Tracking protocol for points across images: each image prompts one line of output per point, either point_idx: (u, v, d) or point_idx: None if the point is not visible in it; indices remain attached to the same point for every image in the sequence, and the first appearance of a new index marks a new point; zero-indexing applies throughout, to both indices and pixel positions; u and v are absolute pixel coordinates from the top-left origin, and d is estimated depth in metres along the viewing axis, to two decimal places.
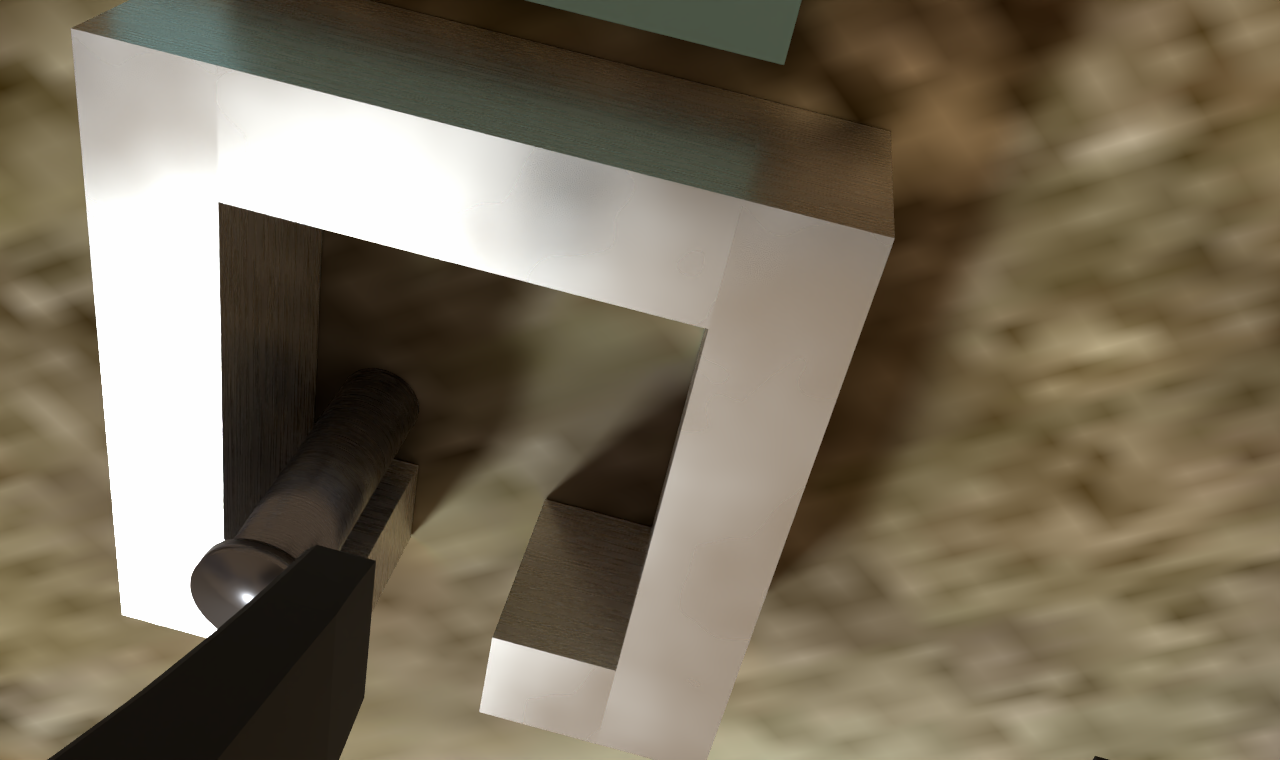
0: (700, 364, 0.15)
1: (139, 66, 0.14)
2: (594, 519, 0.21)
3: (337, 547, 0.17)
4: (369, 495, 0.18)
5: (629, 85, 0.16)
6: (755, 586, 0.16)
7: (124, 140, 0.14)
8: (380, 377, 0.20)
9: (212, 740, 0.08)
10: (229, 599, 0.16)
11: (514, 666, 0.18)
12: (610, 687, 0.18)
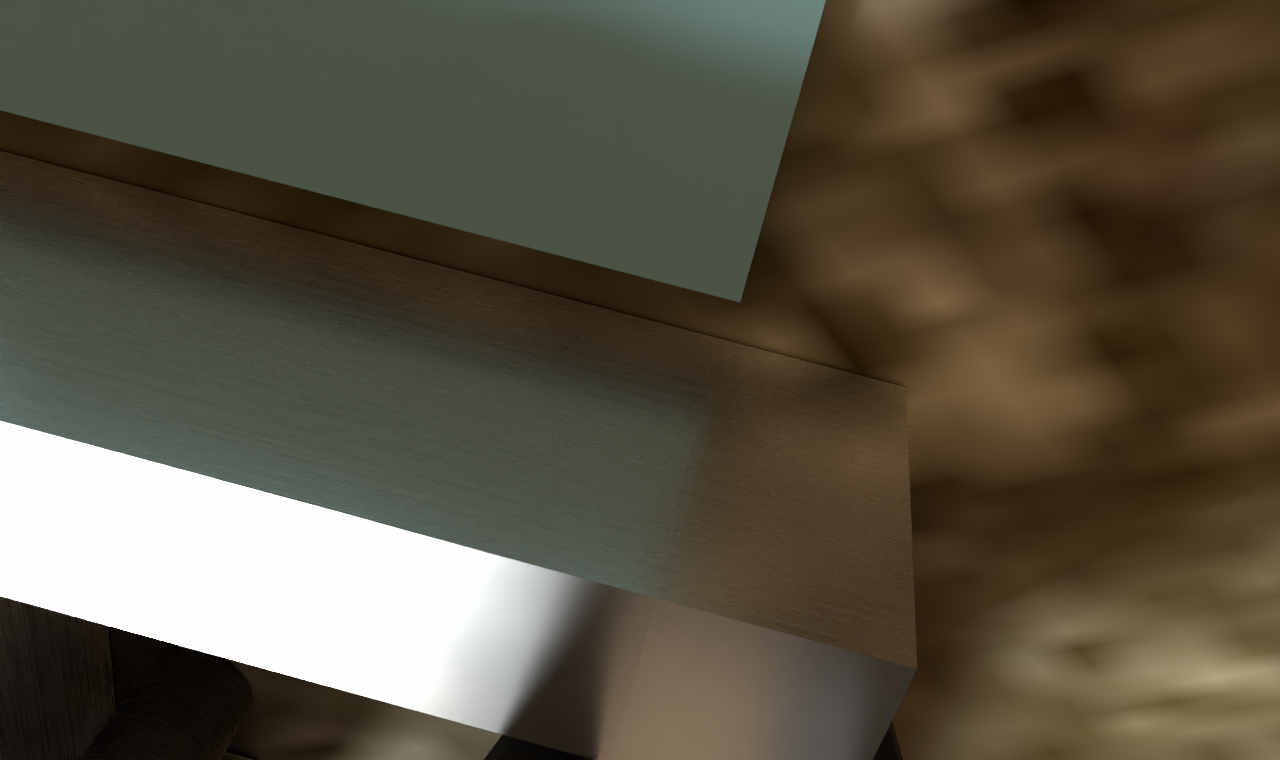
0: None
1: None
2: None
3: None
4: None
5: (501, 328, 0.10)
6: None
7: None
8: (192, 663, 0.14)
9: None
10: None
11: None
12: None
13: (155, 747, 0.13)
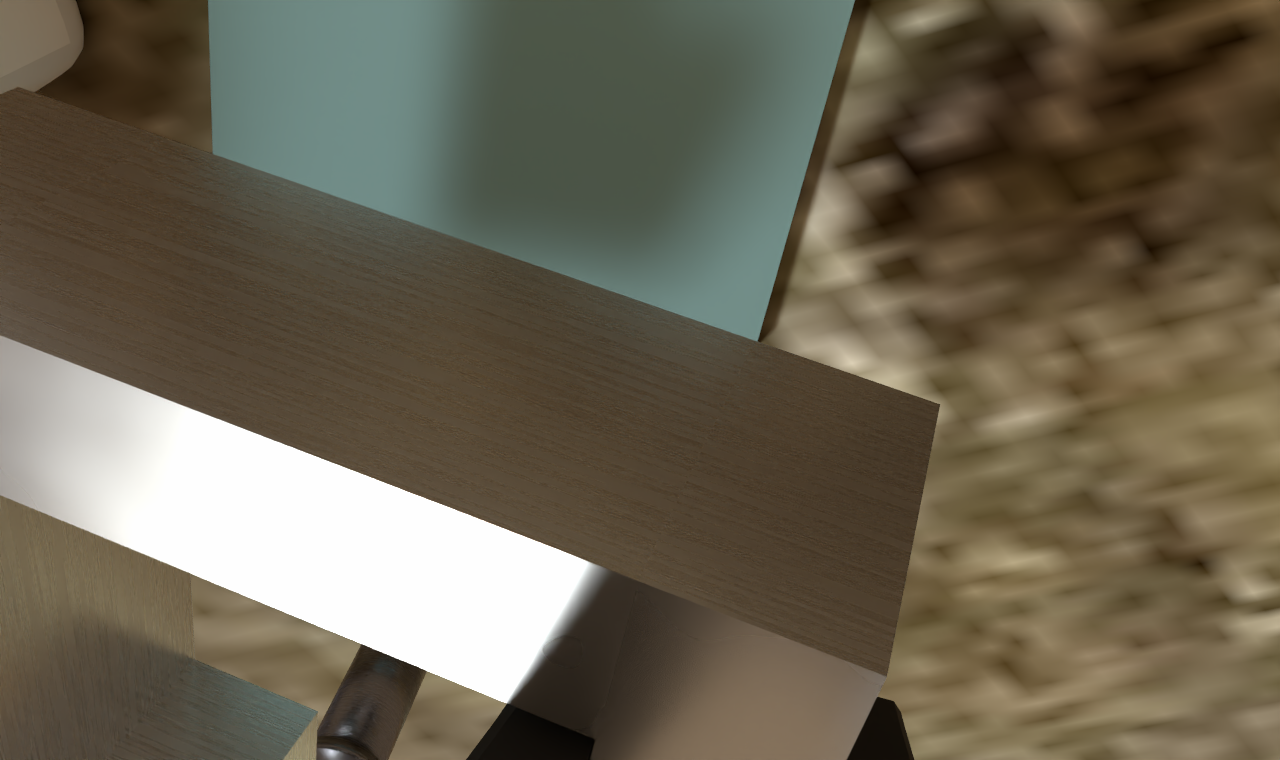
0: None
1: None
2: None
3: (399, 730, 0.21)
4: (422, 679, 0.22)
5: (542, 314, 0.10)
6: None
7: None
8: None
9: None
10: None
11: None
12: None
13: None
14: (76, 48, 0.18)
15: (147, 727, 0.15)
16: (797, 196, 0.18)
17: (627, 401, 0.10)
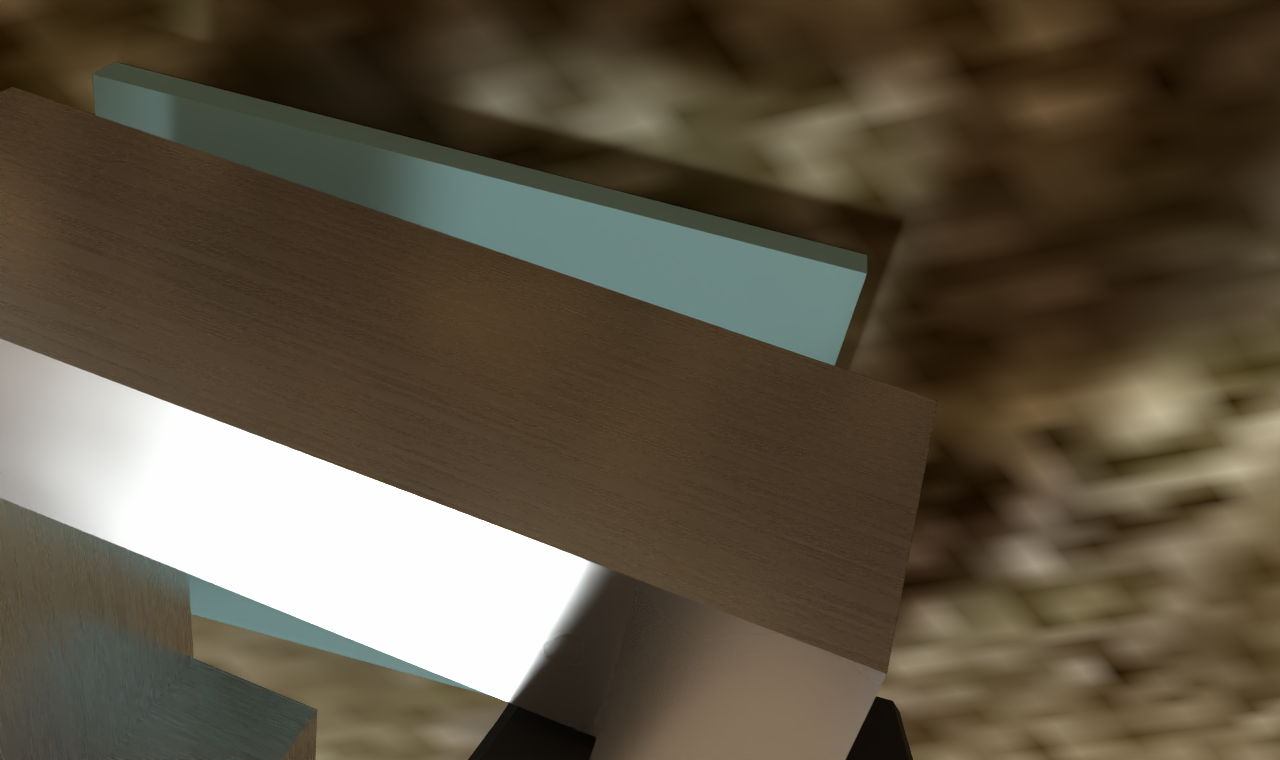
0: None
1: None
2: None
3: None
4: None
5: (540, 313, 0.10)
6: None
7: None
8: None
9: None
10: None
11: None
12: None
13: None
14: None
15: (146, 726, 0.15)
16: None
17: (626, 399, 0.10)
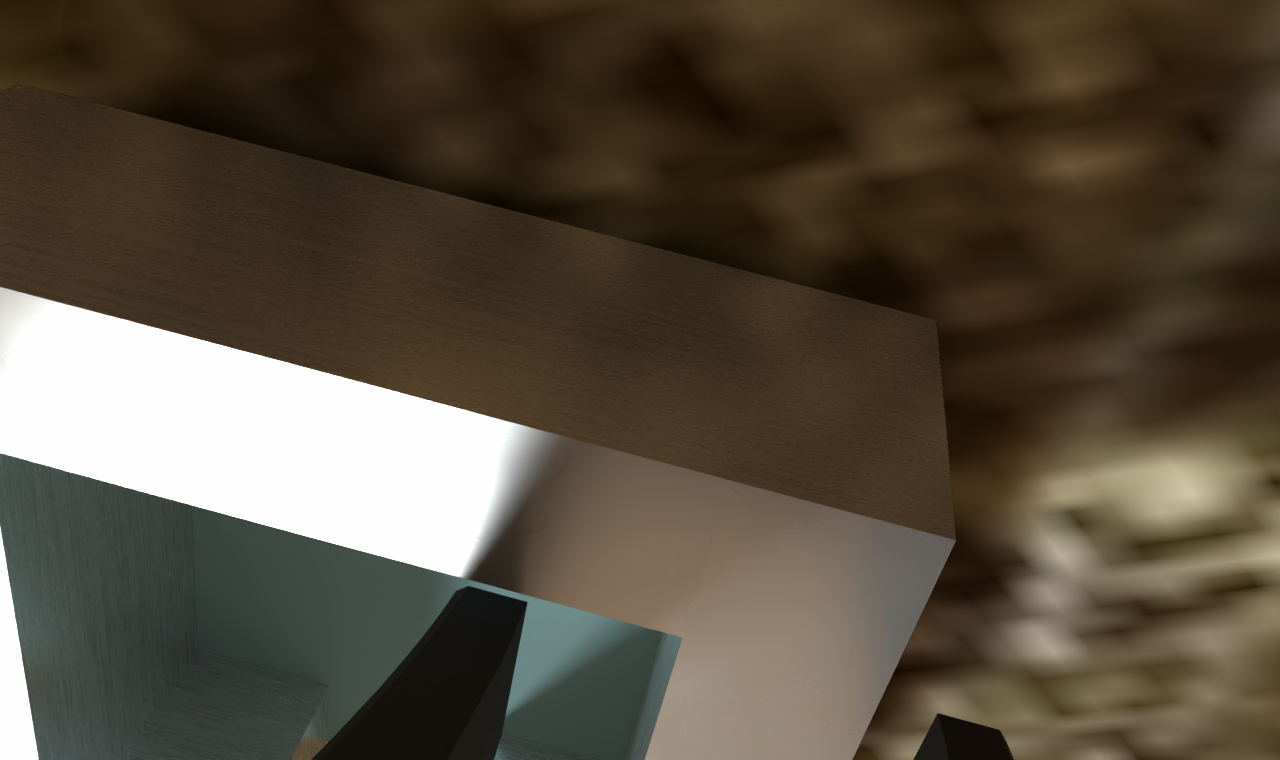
0: (672, 678, 0.10)
1: None
2: (549, 758, 0.16)
3: None
4: None
5: (577, 264, 0.11)
6: None
7: None
8: None
9: None
10: None
11: None
12: None
13: None
14: None
15: (163, 717, 0.16)
16: None
17: (675, 334, 0.11)
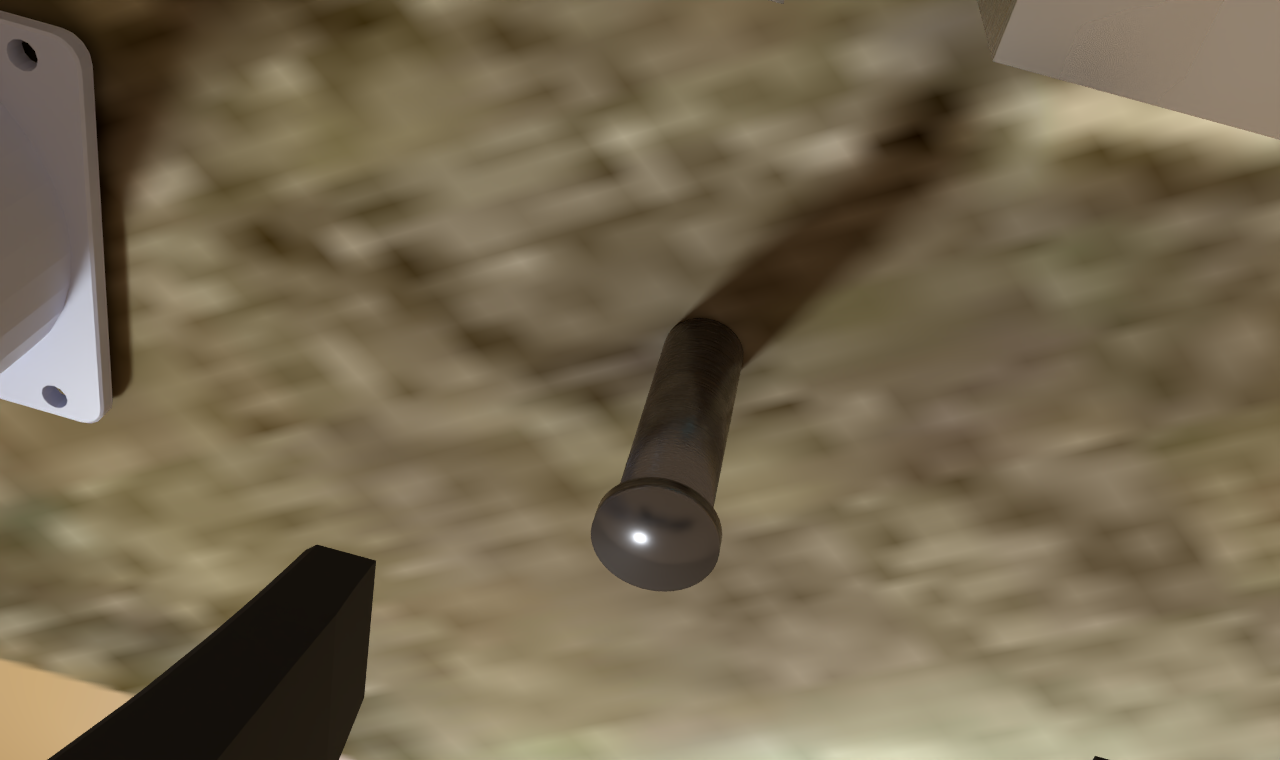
0: None
1: None
2: None
3: (715, 492, 0.17)
4: None
5: None
6: None
7: None
8: (712, 327, 0.19)
9: (212, 740, 0.08)
10: (631, 539, 0.16)
11: None
12: None
13: (714, 368, 0.18)
14: None
15: None
16: None
17: None
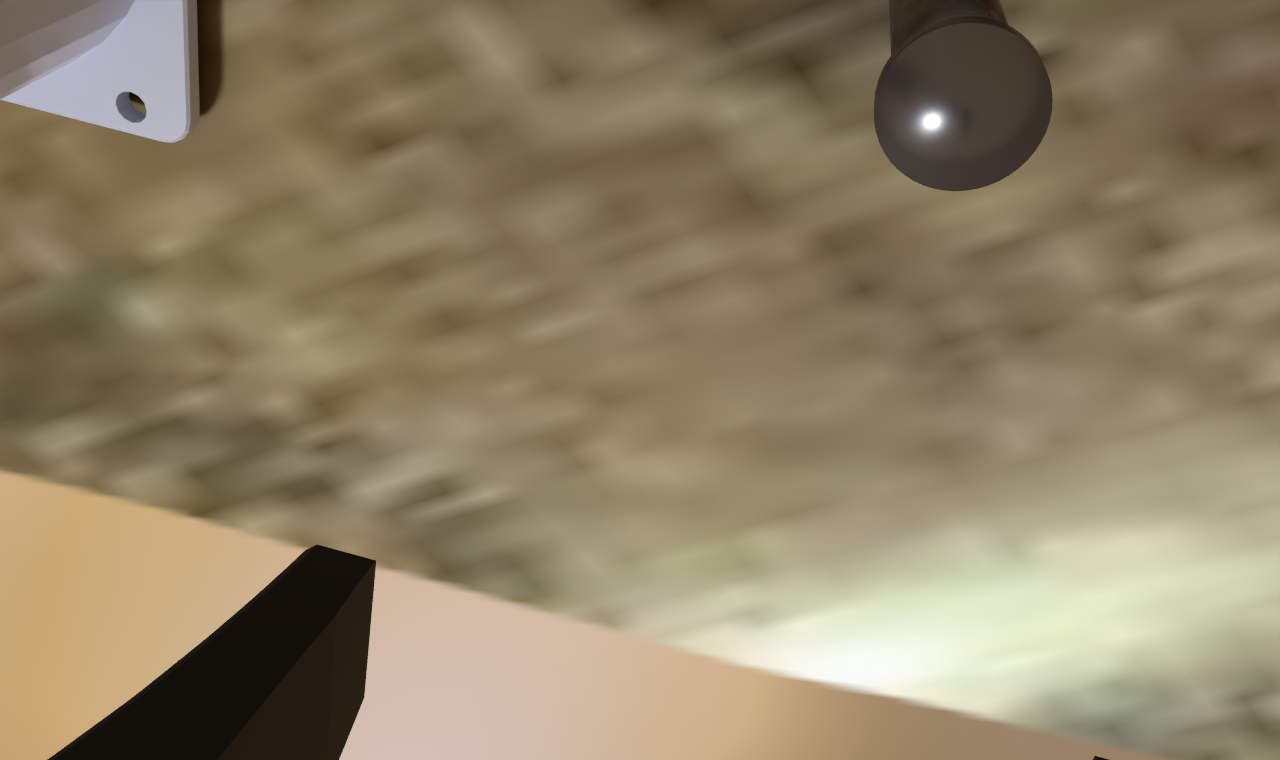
0: None
1: None
2: None
3: None
4: None
5: None
6: None
7: None
8: None
9: (212, 740, 0.08)
10: (930, 109, 0.12)
11: None
12: None
13: None
14: None
15: None
16: None
17: None
